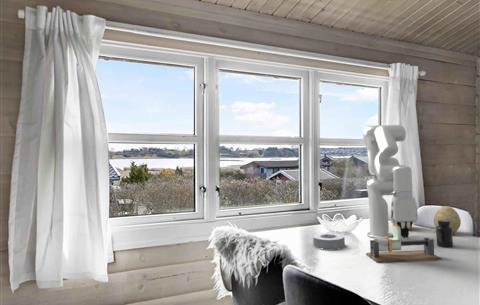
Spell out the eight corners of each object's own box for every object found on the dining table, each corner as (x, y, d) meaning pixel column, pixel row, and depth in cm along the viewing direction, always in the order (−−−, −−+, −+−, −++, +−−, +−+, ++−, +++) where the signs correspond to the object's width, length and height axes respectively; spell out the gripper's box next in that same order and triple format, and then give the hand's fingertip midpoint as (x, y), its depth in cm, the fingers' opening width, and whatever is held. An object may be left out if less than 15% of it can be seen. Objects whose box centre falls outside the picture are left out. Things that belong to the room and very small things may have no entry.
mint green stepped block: (387, 247, 160) (386, 226, 160) (396, 247, 160) (395, 226, 160) (392, 250, 155) (391, 228, 156) (401, 250, 156) (400, 228, 156)
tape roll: (339, 251, 171) (339, 240, 171) (308, 248, 179) (308, 237, 179) (348, 244, 184) (348, 234, 184) (319, 241, 192) (319, 231, 192)
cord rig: (366, 255, 163) (365, 235, 163) (425, 252, 164) (424, 233, 164) (377, 262, 151) (376, 242, 151) (440, 259, 152) (440, 239, 152)
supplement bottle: (455, 247, 170) (454, 222, 170) (439, 247, 171) (438, 222, 171) (449, 244, 176) (448, 219, 177) (434, 244, 178) (433, 219, 178)
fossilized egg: (461, 232, 200) (460, 205, 200) (460, 237, 190) (459, 208, 190) (435, 230, 207) (434, 204, 207) (433, 235, 196) (432, 207, 196)
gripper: (389, 196, 154) (391, 239, 154) (424, 194, 155) (426, 238, 154) (382, 194, 162) (383, 235, 161) (415, 193, 162) (417, 234, 162)
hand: (404, 236), depth 158 cm, fingers closed
